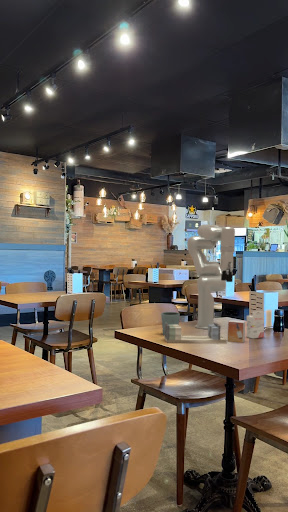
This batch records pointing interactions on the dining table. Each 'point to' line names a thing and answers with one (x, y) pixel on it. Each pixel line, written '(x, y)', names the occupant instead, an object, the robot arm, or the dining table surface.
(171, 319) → the grey green cup
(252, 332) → the ink cartridge box
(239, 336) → the small box
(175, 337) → the bookshelf
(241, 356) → the dining table surface
